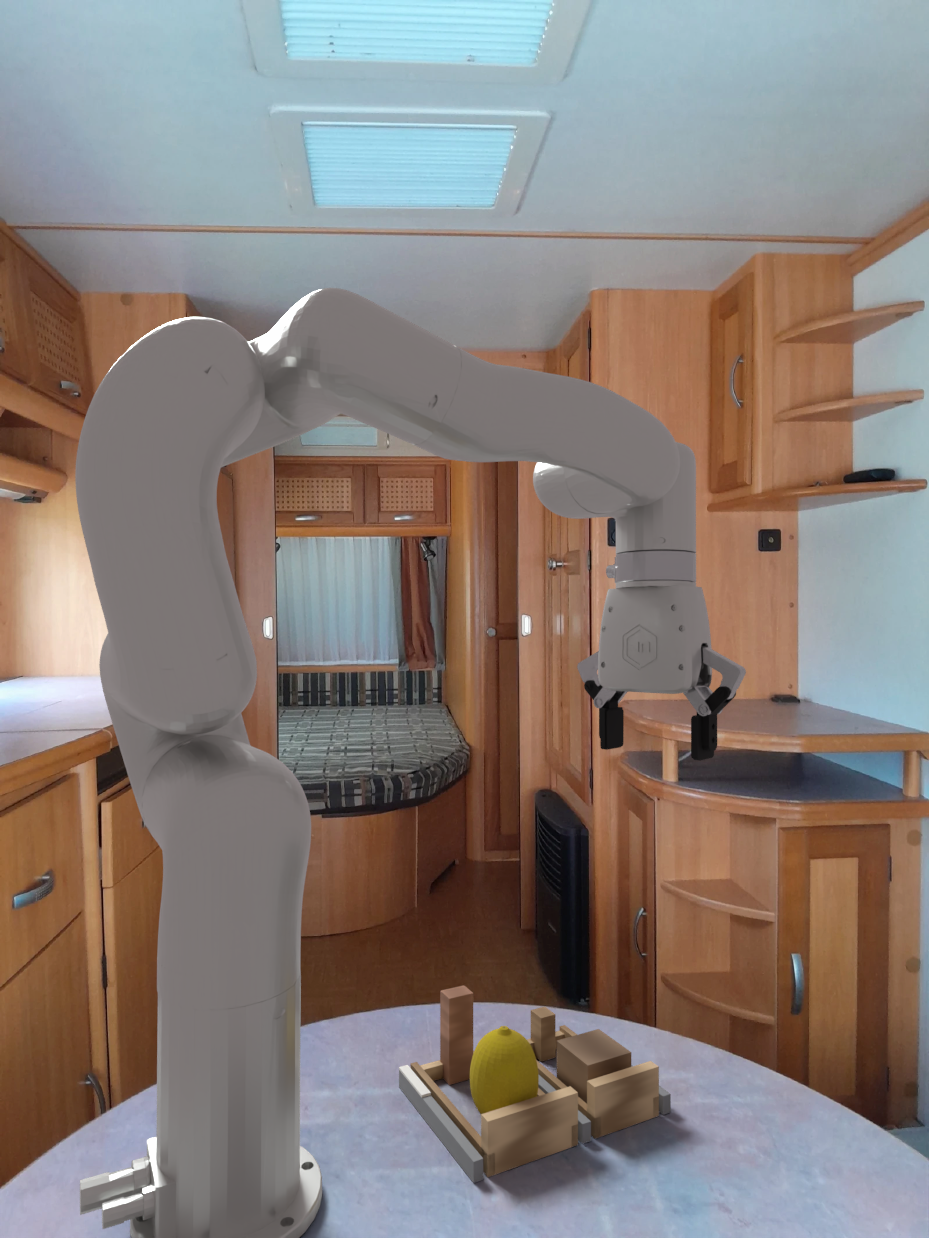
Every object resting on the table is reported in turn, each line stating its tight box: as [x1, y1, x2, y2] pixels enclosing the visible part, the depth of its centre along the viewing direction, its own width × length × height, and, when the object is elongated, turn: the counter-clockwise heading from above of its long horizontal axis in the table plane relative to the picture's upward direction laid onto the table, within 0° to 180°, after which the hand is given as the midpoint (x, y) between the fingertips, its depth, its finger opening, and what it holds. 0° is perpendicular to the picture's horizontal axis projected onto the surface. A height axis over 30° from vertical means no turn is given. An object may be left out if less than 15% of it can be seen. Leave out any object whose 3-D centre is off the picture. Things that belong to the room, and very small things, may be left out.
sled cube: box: [526, 1006, 660, 1140], centre depth 70 cm, size 6×14×4 cm, turn 28°
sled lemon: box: [409, 984, 579, 1178], centre depth 66 cm, size 8×14×8 cm, turn 28°
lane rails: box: [398, 1064, 592, 1184], centre depth 66 cm, size 10×14×2 cm
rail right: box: [631, 1064, 672, 1116], centre depth 71 cm, size 1×11×2 cm, turn 27°
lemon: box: [469, 1025, 539, 1115], centre depth 64 cm, size 6×6×8 cm
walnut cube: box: [556, 1028, 632, 1104], centre depth 68 cm, size 4×4×4 cm
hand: (655, 753), depth 76 cm, fingers open, 9 cm apart
